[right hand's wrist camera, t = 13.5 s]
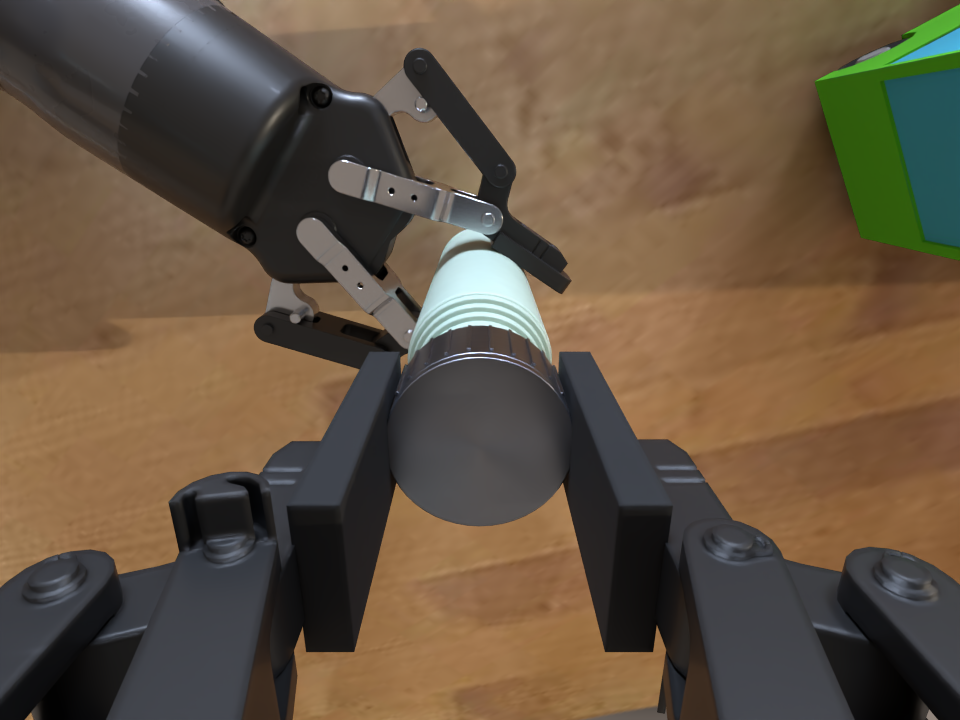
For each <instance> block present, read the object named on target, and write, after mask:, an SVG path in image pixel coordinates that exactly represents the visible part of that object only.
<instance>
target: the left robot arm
mask: <svg viewBox="0 0 960 720" xmlns="http://www.w3.org/2000/svg"><path fill="white" fill-rule="evenodd" d="M0 89H1V90H3V91H5V92H6V93H8V94H9V95H11V96H13V97H14V98H16V99H17V100H19V101H20V102H22V103H23V104H25V105H26V106H27V107H29V108H30V109H31V110H32V111H34V112H35V113H36V114H37V115H39V116H40V117H41V118H42V119H43V120H45V121H46V122H47V123H48V124H50V125H51V126H52V127H54V128H55V129H56V130H57V131H59V132H60V133H61V134H63V135H64V136H65V137H67V138H68V139H70V140H71V141H73V142H74V143H76V144H77V145H79V146H80V147H82V148H84V149H85V150H87V151H88V152H90V153H92V154H93V155H95V156H96V157H98V158H100V159H101V160H103V161H104V162H106V163H108V164H109V165H111V166H112V167H114V168H116V169H117V170H119V171H121V172H122V173H124V174H125V175H127V176H129V177H130V178H132V179H133V180H135V181H137V182H138V183H140V184H142V185H143V186H145V187H146V188H148V189H150V190H151V191H153V192H154V193H156V194H157V195H159V196H161V197H162V198H164V199H166V200H167V201H169V202H170V203H172V204H174V205H175V206H177V207H178V208H180V209H182V210H183V211H185V212H186V213H188V214H190V215H191V216H193V217H194V218H196V219H198V220H199V221H201V222H203V223H204V224H206V225H207V226H209V227H211V228H212V229H214V230H215V231H217V232H219V233H220V234H222V235H223V236H225V237H227V238H228V239H230V240H232V241H234V242H236V243H238V244H240V245H241V246H243V247H245V248H246V249H248V250H249V251H250V252H251V253H252V254H253V255H254V256H255V257H256V258H257V259H258V261H259V262H260V264H261V265H262V267H263V269H264V270H265V271H266V273H267V274H268V275H269V276H270V277H272V282H271V287H270V292H269V297H268V302H267V307H266V312H265V313H264V314H263V315H262V316H261V317H259V318H258V319H257V320H256V321H255V324H254V331H255V334H256V335H257V337H258V338H259V339H261V340H262V341H264V342H268V343H271V344H274V345H278V346H281V347H285V348H288V349H292V350H295V351H299V352H302V353H305V354H309V355H312V356H316V357H319V358H323V359H326V360H330V361H333V362H337V363H340V364H343V365H347V366H350V367H354V368H357V369H360V368H361V367H362V365H363V363H364V361H365V359H366V357H367V356H368V354H369V352H400V357H401V356H403V355H405V354H407V353H408V349H409V344H410V340H411V337H412V335H413V332H414V329H415V326H416V324H417V321H418V318H419V315H420V313H421V310H422V308H421V307H420V306H419V305H418V303H417V302H416V301H415V300H414V299H413V298H412V296H411V295H410V294H409V293H408V292H407V291H406V290H405V288H404V287H403V286H402V284H401V281H400V279H399V278H398V276H397V275H396V274H395V273H394V272H393V270H392V269H391V268H390V267H389V266H388V265H387V263H386V260H387V259H388V257H389V256H390V254H391V252H392V250H393V246H394V243H395V239H396V236H397V234H399V233H400V232H401V231H402V230H403V229H404V228H405V227H406V226H407V225H408V224H409V223H410V222H411V220H412V219H413V217H414V215H418V216H421V217H424V218H427V219H431V220H434V221H439V222H446V223H449V224H452V225H456V226H459V227H462V228H465V229H469V230H472V231H475V232H479V233H482V234H483V235H485V236H486V237H487V238H489V239H490V242H491V247H492V248H494V249H495V250H497V251H498V252H499V253H501V254H502V255H504V256H506V257H507V258H509V259H510V260H512V261H513V262H514V263H516V264H517V265H518V266H520V267H521V268H523V269H524V270H526V271H527V272H529V273H530V274H532V275H533V276H535V277H536V278H537V279H539V280H540V281H542V282H543V283H545V284H546V285H548V286H549V287H551V288H552V289H554V290H555V291H557V292H558V293H560V294H562V293H563V292H564V291H565V289H566V288H567V287H568V285H569V284H570V282H571V279H570V278H569V276H568V275H567V274H566V273H565V272H564V271H563V269H564V268H565V266H566V265H567V264H568V263H567V262H566V260H565V258H564V257H563V255H562V254H561V252H560V251H559V250H558V248H557V247H556V246H554V245H553V244H551V243H550V242H548V241H547V240H546V239H544V238H543V237H541V236H540V235H538V234H537V233H536V232H534V231H533V230H531V229H530V228H529V227H527V226H526V225H524V224H523V223H521V222H520V221H519V220H517V219H516V218H514V217H513V216H512V215H511V214H510V213H509V211H508V207H507V202H508V197H509V193H510V189H511V185H512V182H513V181H514V179H515V176H516V167H515V164H514V162H513V161H512V160H511V158H510V157H509V156H508V154H507V153H506V152H505V150H504V149H503V148H502V146H501V145H500V144H499V142H498V141H497V140H496V138H495V137H494V136H493V134H492V133H491V132H490V130H489V129H488V128H487V126H486V125H485V124H484V123H483V121H482V120H481V119H480V117H479V116H478V115H477V113H476V112H475V111H474V109H473V108H472V107H471V105H470V104H469V103H468V101H467V100H466V99H465V97H464V96H463V95H462V93H461V92H460V91H459V89H458V88H457V87H456V85H455V84H454V83H453V82H452V80H451V79H450V78H449V76H448V75H447V74H446V72H445V71H444V70H443V68H442V67H441V66H440V64H439V63H438V62H437V60H436V59H435V58H434V56H433V55H432V54H431V53H430V52H429V51H428V50H426V49H423V48H416V49H413V50H411V51H410V52H409V53H408V54H407V55H406V57H405V60H404V68H402V69H401V70H400V71H399V72H398V73H397V74H396V75H395V76H394V77H393V78H392V79H391V80H390V81H389V82H388V83H387V84H386V85H385V86H384V87H383V88H381V89H380V90H379V91H378V92H377V93H376V94H375V95H374V96H371V95H369V94H365V93H357V92H349V91H345V90H343V89H341V88H339V87H338V86H336V85H335V84H333V83H332V82H331V81H329V80H328V79H326V78H325V77H323V76H322V75H321V74H319V73H318V72H316V71H315V70H313V69H312V68H311V67H309V66H308V65H306V64H305V63H304V62H302V61H301V60H299V59H298V58H296V57H295V56H294V55H292V54H291V53H289V52H288V51H287V50H285V49H284V48H282V47H281V46H279V45H278V44H277V43H275V42H274V41H272V40H271V39H270V38H268V37H267V36H265V35H264V34H262V33H261V32H260V31H258V30H257V29H255V28H254V27H252V26H251V25H250V24H248V23H247V22H245V21H244V20H243V19H241V18H240V17H238V16H237V15H235V14H234V13H233V12H231V11H230V10H228V9H227V8H226V7H225V6H224V5H223V4H222V3H221V2H220V1H219V0H0ZM398 113H408V114H409V115H411V116H412V117H413V118H414V119H415V120H417V121H419V122H422V123H429V122H432V121H433V120H435V119H436V118H437V117H439V119H440V120H441V121H442V123H443V124H444V125H445V126H446V128H447V129H448V130H449V132H450V133H451V134H452V135H453V137H454V138H455V139H456V140H457V142H458V143H459V144H460V146H461V147H462V148H463V149H464V151H465V152H466V153H467V155H468V156H469V157H470V158H471V160H472V161H473V162H474V164H475V165H476V166H477V167H478V169H479V170H480V171H481V173H482V174H483V176H482V180H481V184H480V188H479V192H478V195H475V194H472V193H468V192H465V191H462V190H459V189H456V188H453V187H451V186H448V185H446V184H443V183H439V182H436V181H433V180H430V179H427V178H423V177H420V176H417V175H415V174H414V171H413V169H412V166H411V164H410V161H409V158H408V156H407V153H406V151H405V148H404V145H403V143H402V140H401V137H400V135H399V132H398V130H397V127H396V124H395V122H394V119H393V116H394V115H396V114H398ZM332 282H339V283H340V284H341V285H342V287H343V288H344V289H345V290H346V291H347V292H348V293H349V294H350V295H351V297H352V298H353V299H354V300H355V301H356V302H357V303H358V304H359V305H360V307H361V308H362V309H363V310H364V311H365V312H366V313H368V314H370V315H373V316H374V317H375V318H376V319H377V320H378V321H379V322H380V323H381V324H382V326H383V327H384V328H385V330H380V329H377V328H373V327H370V326H367V325H363V324H360V323H357V322H353V321H350V320H346V319H343V318H340V317H336V316H333V315H330V314H326V313H323V312H320V311H319V306H318V304H317V302H316V301H315V300H314V299H313V298H311V297H309V296H307V295H305V294H304V293H303V292H302V290H301V289H300V286H299V284H300V283H332ZM360 282H361V283H363V286H362V285H360Z"/></svg>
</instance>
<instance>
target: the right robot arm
mask: <svg viewBox="0 0 960 720" xmlns="http://www.w3.org/2000/svg"><path fill="white" fill-rule="evenodd" d="M558 376H559V379H560V382H561V384H562V387H563V390H564V393H565V396H564V397H565V400H566V403H567V406H568V409H569V413H570V416H571V419H572V437H571V454H570V469H569V472H568V474H567V476H566V478H565V480H564V481H563V484H564V488H565V492H566V497H567V501H568V505H569V509H570V513H571V517H572V521H573V525H574V529H575V533H576V537H577V541H578V545H579V549H580V553H581V557H582V561H583V565H584V569H585V573H586V577H587V581H588V585H589V589H590V593H591V597H592V601H593V605H594V609H595V613H596V617H597V621H598V625H599V629H600V633H601V637H602V641H603V645H604V649H605V652H653V648H654V641H655V634H656V626H658V629H659V631H660V634H661V637H662V639H663V642H664V645H665V648H666V655H665V662H664V669H663V676H662V683H661V689H660V696H659V703H658V711H657V712H658V713H665V710H666V709H667V718H668V720H928V719H927V718H926V716H927V713H928V711H929V709H930V711H931V712H932V713H933V714H934V715H935V717H936V718H937V719H938V720H960V585H959V584H958V583H957V582H956V581H955V580H954V579H952V578H951V577H950V576H948V575H947V574H945V573H944V572H942V571H941V570H939V569H938V568H937V567H935V566H934V565H932V564H929V563H927V562H925V561H923V560H921V559H919V558H917V557H915V556H913V555H910V554H907V553H904V552H899V551H897V550H892V549H886V548H875V547H867V548H861V549H856V550H854V551H852V552H851V553H850V554H849V555H848V556H847V557H846V559H845V563H844V567H843V570H842V572H838V571H834V570H829V569H824V568H819V567H814V566H810V565H805V564H800V563H797V562H793V561H789V560H786V559H784V558H783V556H782V553H781V551H780V550H779V548H778V547H777V546H776V544H775V543H774V542H773V540H772V539H770V538H769V537H768V536H766V535H765V534H763V533H762V532H761V531H759V530H758V529H756V528H753V527H751V526H749V525H746V524H744V523H742V522H738V521H734V520H732V518H731V517H730V515H729V514H728V512H727V511H726V509H725V508H724V506H723V505H722V504H721V502H720V501H719V499H718V498H717V496H716V495H715V493H714V492H713V490H712V489H711V487H710V486H709V484H708V483H705V479H704V477H703V476H702V474H701V473H700V471H699V470H697V467H696V465H695V464H694V462H693V461H692V459H691V458H690V457H689V455H688V454H687V452H685V451H684V450H682V449H681V448H680V447H678V446H677V445H675V444H674V443H672V442H671V441H669V440H637V438H636V436H635V434H634V432H633V431H632V429H631V427H630V425H629V423H628V421H627V420H626V418H625V416H624V414H623V412H622V410H621V408H620V407H619V405H618V403H617V401H616V399H615V397H614V396H613V394H612V392H611V390H610V388H609V386H608V384H607V383H606V381H605V379H604V377H603V375H602V373H601V372H600V370H599V368H598V366H597V364H596V362H595V360H594V359H593V357H592V355H591V353H590V352H559V372H558ZM400 377H401V365H400V352H369V354H368V356H367V357H366V359H365V361H364V363H363V365H362V367H361V368H360V370H359V372H358V374H357V376H356V378H355V379H354V381H353V383H352V385H351V387H350V389H349V391H348V392H347V394H346V396H345V398H344V400H343V402H342V403H341V405H340V407H339V409H338V411H337V413H336V415H335V416H334V418H333V420H332V422H331V424H330V426H329V427H328V429H327V431H326V433H325V435H324V437H323V439H322V440H321V441H292V442H290V443H289V444H287V445H286V446H284V447H283V448H281V449H280V450H278V451H277V452H275V453H274V454H273V455H272V456H271V458H270V459H269V461H268V462H267V464H266V465H265V467H264V468H263V472H261V473H260V474H259V475H257V474H253V473H250V472H227V473H222V474H216V475H211V476H208V477H206V478H203V479H200V480H198V481H195V482H192V483H191V484H189V485H188V486H186V487H184V488H183V489H181V490H180V491H178V492H177V493H176V494H175V495H174V496H173V498H172V499H171V500H170V501H169V507H170V511H171V516H172V520H173V525H174V529H175V534H176V538H177V543H178V548H179V554H178V557H177V559H176V561H175V562H172V563H168V564H165V565H161V566H157V567H152V568H148V569H143V570H138V571H133V572H129V573H124V574H119V575H118V573H117V570H116V566H115V562H114V559H113V558H111V557H110V556H109V555H108V554H107V553H106V552H101V551H95V550H81V551H71V552H67V553H62V554H60V555H55V556H52V557H49V558H46V559H44V560H43V561H41V562H39V563H36V564H34V565H32V566H30V567H28V568H26V569H25V570H23V571H22V572H20V573H19V574H17V575H16V576H15V577H13V578H12V579H10V580H9V581H7V582H6V583H5V584H4V585H3V586H2V587H1V588H0V720H25V719H26V717H27V716H28V715H29V714H30V713H32V716H33V719H34V720H293V711H294V702H295V693H296V684H297V669H296V662H295V655H294V649H295V646H296V643H297V640H298V638H299V635H300V632H301V630H302V627H303V631H304V639H305V646H306V652H354V651H355V647H356V643H357V639H358V635H359V631H360V627H361V623H362V619H363V615H364V611H365V607H366V603H367V599H368V595H369V590H370V586H371V582H372V578H373V574H374V570H375V566H376V562H377V558H378V554H379V550H380V546H381V542H382V538H383V534H384V530H385V526H386V522H387V518H388V514H389V510H390V506H391V502H392V498H393V494H394V490H395V486H396V481H395V479H394V477H393V475H392V473H391V471H390V464H389V448H388V432H387V420H388V417H389V414H390V409H391V406H392V403H393V400H394V397H395V392H396V389H397V386H398V383H399V380H400Z"/></svg>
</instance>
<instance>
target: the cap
mask: <svg viewBox="0 0 960 720" xmlns="http://www.w3.org/2000/svg"><path fill="white" fill-rule="evenodd" d="M564 396H565V393H564V390H563V387H562V384H561V382H560V379H559V376H558V373H557V370H556V367H555V365H553V366H552V365H551V363H550V362H549V360H548V359H547V357H546V355H545V352H544V351H543V350H542V351H541V350H540V349H539V348H537V347H536V346H535V345H534V344H533V343H532V342H530V339H529V338H526V339H525V338H524V337H522V336H520V335H518V334H516V333H514V332H512V330H510V329H509V330H506V329H503V328H498V327H493V326H492V325H489V326H472V325H468V326H467V327H462V328H457V329H454V330H452V329H449V330H448V332H445V333H443V334H441V335H439V336H437V337H436V338H433V337H432V338H431V339H430V341H429V342H428V343H427V344H426V345H424V346H423V347H422V348H421V349H420V350H418V349H417V350H416V351H415V354H414V357H413V358H412V359H411V361H410V362H409V364H408V365H406V364H405V366H404V369H403V372H402V374H401V377H400V380H399V383H398V386H397V389H396V392H395V397H394V400H393V403H392V406H391V409H390V414H389V417H388V420H387V432H388V448H389V464H390V471H391V473H392V475H393V477H394V479H395V481H396V482H397V484H398V485H399V487H400V488H401V490H402V491H403V492H404V493H405V494H406V496H407V497H408V498H409V499H411V500H412V501H413V502H414V503H415V504H416V505H418V506H419V507H420V508H422V509H423V510H424V511H426V512H428V513H430V514H432V515H433V516H436V517H438V518H440V519H443V520H445V521H449V522H452V523H456V524H461V525H467V526H492V525H498V524H503V523H507V522H511V521H514V520H517V519H519V518H521V517H524V516H526V515H528V514H530V513H531V512H533V511H535V510H536V509H538V508H539V507H540V506H542V505H543V504H544V503H546V502H547V501H548V500H549V499H550V498H551V497H552V496H553V495H554V494H555V492H556V491H557V490H558V489H559V488H560V486H561V484H562V483H563V481H564V480H565V478H566V476H567V474H568V472H569V469H570V454H571V437H572V419H571V416H570V413H569V409H568V406H567V403H566V400H565V397H564Z"/></svg>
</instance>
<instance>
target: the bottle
mask: <svg viewBox="0 0 960 720" xmlns="http://www.w3.org/2000/svg"><path fill="white" fill-rule="evenodd" d="M468 325H472V326H489V325H492V326H493V327H498V328H503V329H506V330H509V329H510V330H512V332H514V333H516V334H518V335H520V336H522V337H524V338H525V339H526V338H529V339H530V342H532V343H533V344H534V345H535V346H536V347H537V348H539V349H540V350H541V351H542V350H543V351H544V352H545V355H546V357H547V359H548V360H549V362H550V363H551V365H552V353H551V346H550V342H549V338H548V336H547V333H546V330H545V327H544V325H543V322H542V319H541V316H540V314H539V311H538V308H537V305H536V303H535V300H534V297H533V294H532V291H531V289H530V286H529V283H528V280H527V278H526V275H525V272H524V269H523V268H521V267H520V266H518V265H517V264H516V263H514V262H513V261H512V260H510V259H509V258H507V257H506V256H504V255H502V254H501V253H499V252H498V251H497V250H495V249H494V248H492V247H491V242H490V239H489V238H487V237H486V236H485V235H483V234H482V233H479V232H475V231H472V230H469V229H466V230H464V231H462V232H460V233H458V234H457V235H455V236H454V237H453V238H452V239H451V240H450V241H449V242H448V243H447V245H446V246H445V248H444V250H443V252H442V255H441V258H440V260H439V263H438V266H437V269H436V271H435V274H434V277H433V280H432V282H431V285H430V288H429V291H428V293H427V296H426V299H425V302H424V304H423V307H422V310H421V313H420V315H419V318H418V321H417V324H416V326H415V329H414V332H413V335H412V337H411V340H410V344H409V349H408V364H409V362H410V361H411V359H412V358H413V357H414V354H415V351H416V350H417V349H418V350H420V349H421V348H422V347H423V346H424V345H426V344H427V343H428V342H429V341H430V339H431V338H432V337H433V338H436V337H437V336H439V335H441V334H443V333H445V332H448V330H449V329H452V330H454V329H457V328H462V327H467V326H468Z"/></svg>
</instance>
